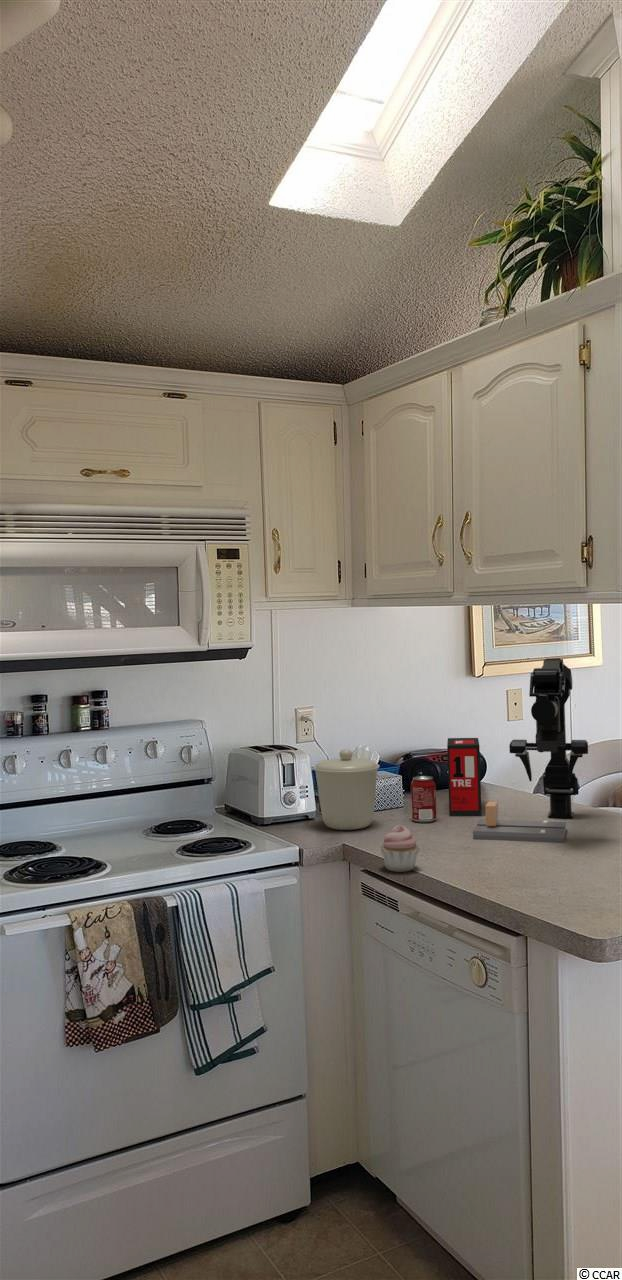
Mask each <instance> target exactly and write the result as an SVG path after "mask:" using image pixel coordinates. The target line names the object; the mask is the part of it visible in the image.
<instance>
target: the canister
mask: <svg viewBox="0 0 622 1280" xmlns="http://www.w3.org/2000/svg"><path fill="white" fill-rule="evenodd" d="M380 766H381V765H380V764H378V763H376V762H375V761H374V760H371V759H369V758H368V759H367V758H362V757H353V752H352V750H350V749H348V748H344V749H340V752H339V757H337V758H329V759H325V760H321V761H319V762H318V763H317V764H316V765H314V766H313V767H312V769H313V771H315V778H316V783H317V786H316V787H317V792H318V799H319V800H318V801H319V806H320V812H321V817H322V820H323V821H322V822H323V823H324V825H326V827H327V828H329V829H332V830H339V831H351V830H352V831H354V830H361V829H365V828H368V827H369V826H370V825H371V823H372V822H373V820H374V819H373V818H374V816H375V815H374V814H375V804H376V793H377V779H378V778H377V777H378V769H380Z"/></svg>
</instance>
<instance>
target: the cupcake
mask: <svg viewBox="0 0 622 1280" xmlns="http://www.w3.org/2000/svg"><path fill="white" fill-rule="evenodd" d="M378 848H379V850H380V853H381V855H382V856H383V862H384V866H385V868H386V870H387V871H390V872H394V873H405V872H409V871H410V872H411V871H413V870H414V868H415V866H416V862H417V858H418V855H419V852H420V851H421V847H420V845H418V844H417V841H416V839H415V837H414V836H413V834H412V833H411V831H410V829H408V828H407V827H405V826H404V825H401V823H400V824H398V825H396V826H394V827H393V828H392V830H390V832H387V833H386V834H385V835H384V837H383V842H382V845H380V846H378Z"/></svg>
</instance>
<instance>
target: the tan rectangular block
mask: <svg viewBox="0 0 622 1280" xmlns="http://www.w3.org/2000/svg"><path fill="white" fill-rule="evenodd" d="M498 807H499V803H498V801H487V803H486V804H485V820H486V826H496V824H497V822H498V820H499V808H498Z"/></svg>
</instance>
